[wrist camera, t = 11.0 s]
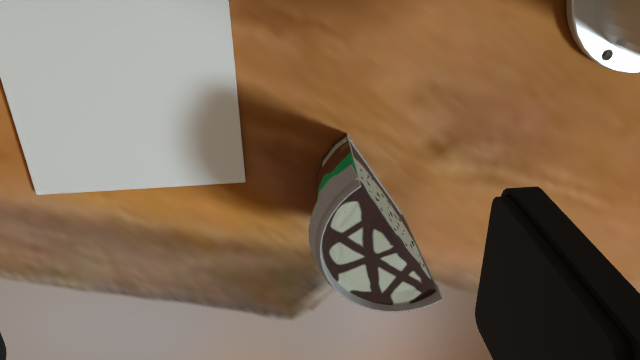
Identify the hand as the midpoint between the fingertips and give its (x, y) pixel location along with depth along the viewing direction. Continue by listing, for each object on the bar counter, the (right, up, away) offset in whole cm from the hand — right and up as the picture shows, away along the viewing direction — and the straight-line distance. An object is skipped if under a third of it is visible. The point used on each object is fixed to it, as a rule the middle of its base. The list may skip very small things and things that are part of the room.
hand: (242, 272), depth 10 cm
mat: (-13, +8, +29) cm, 32 cm away
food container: (+3, +1, +35) cm, 35 cm away
